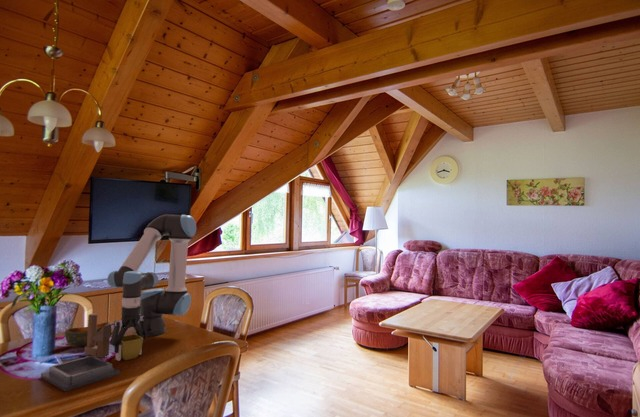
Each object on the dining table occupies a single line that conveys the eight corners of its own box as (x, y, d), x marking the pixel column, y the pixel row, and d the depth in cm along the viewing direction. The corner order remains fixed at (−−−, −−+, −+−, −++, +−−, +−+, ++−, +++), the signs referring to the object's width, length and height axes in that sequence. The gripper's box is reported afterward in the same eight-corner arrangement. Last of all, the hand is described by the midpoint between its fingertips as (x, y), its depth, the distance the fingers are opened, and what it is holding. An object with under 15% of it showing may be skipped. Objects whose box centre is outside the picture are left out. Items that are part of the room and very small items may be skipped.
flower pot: (142, 358, 174) (143, 338, 174) (122, 363, 168) (123, 342, 168) (134, 353, 180) (135, 333, 180) (114, 357, 174) (115, 337, 174)
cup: (101, 350, 181) (102, 328, 182) (61, 348, 183) (62, 326, 184) (118, 342, 194) (118, 321, 195) (80, 340, 196) (81, 320, 196)
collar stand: (94, 362, 167) (94, 353, 167) (119, 374, 156) (120, 364, 156) (40, 377, 151) (41, 367, 151) (64, 391, 140) (65, 380, 140)
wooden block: (102, 358, 172) (104, 317, 173) (84, 354, 176) (86, 314, 176) (109, 355, 176) (111, 315, 176) (91, 352, 179) (93, 313, 180)
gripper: (111, 311, 163) (108, 365, 163) (158, 303, 181) (155, 352, 181) (102, 309, 168) (99, 361, 167) (148, 301, 186) (146, 348, 185)
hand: (128, 356), depth 174 cm, fingers closed on flower pot, 9 cm apart
